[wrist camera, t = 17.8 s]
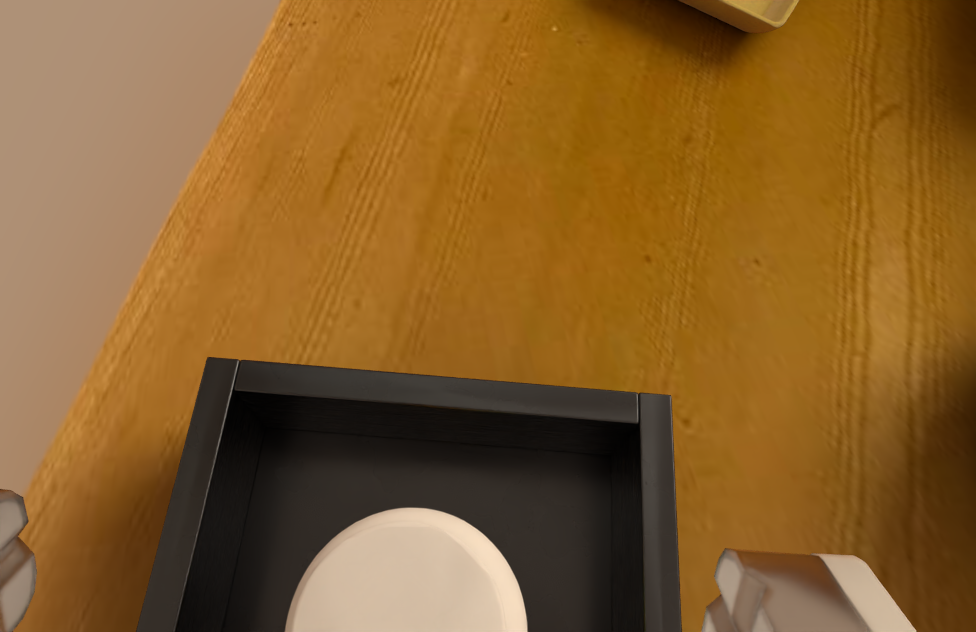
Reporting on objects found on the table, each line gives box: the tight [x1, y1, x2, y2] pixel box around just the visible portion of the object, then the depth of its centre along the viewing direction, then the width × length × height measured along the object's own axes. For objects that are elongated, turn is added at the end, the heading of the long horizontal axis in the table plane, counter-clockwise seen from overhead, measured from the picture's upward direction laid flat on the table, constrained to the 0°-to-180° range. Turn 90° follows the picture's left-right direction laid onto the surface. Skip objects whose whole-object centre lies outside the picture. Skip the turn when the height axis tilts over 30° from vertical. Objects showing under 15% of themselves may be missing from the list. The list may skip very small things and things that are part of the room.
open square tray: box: [136, 357, 682, 632], centre depth 20 cm, size 14×14×5 cm
